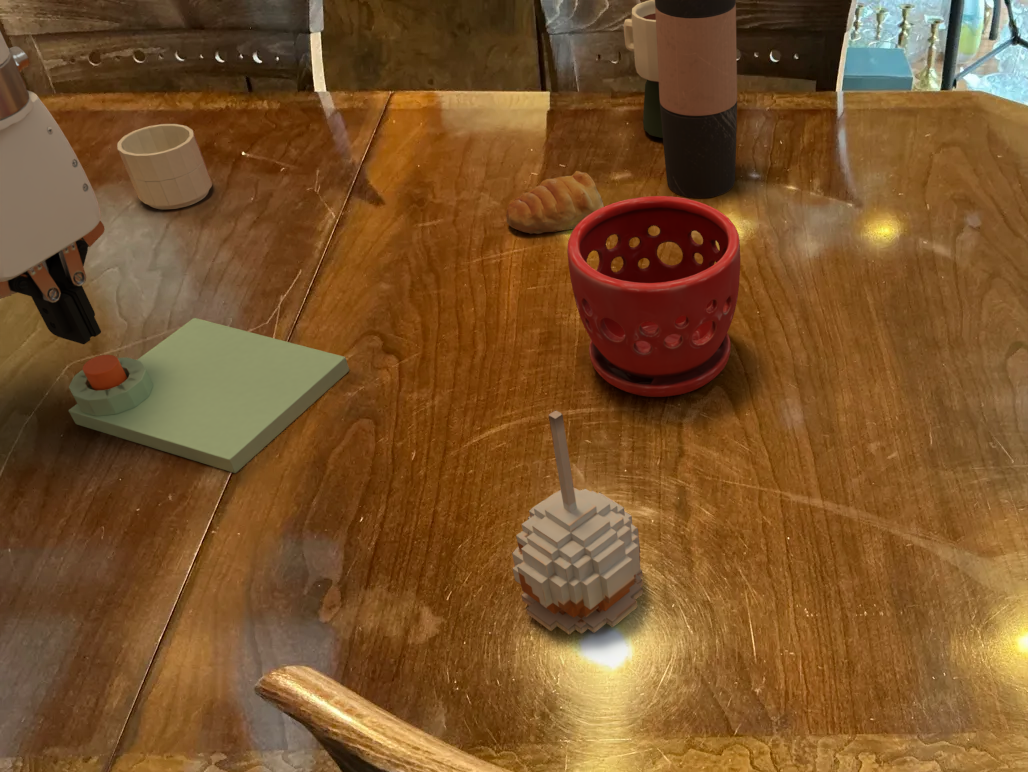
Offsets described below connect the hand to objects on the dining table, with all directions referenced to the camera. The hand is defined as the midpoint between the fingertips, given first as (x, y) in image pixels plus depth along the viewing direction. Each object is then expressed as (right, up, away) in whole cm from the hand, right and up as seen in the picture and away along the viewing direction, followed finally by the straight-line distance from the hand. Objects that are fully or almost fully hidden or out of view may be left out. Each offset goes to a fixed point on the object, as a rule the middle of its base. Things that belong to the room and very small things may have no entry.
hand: (78, 334), depth 82 cm
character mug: (+43, +30, +39) cm, 66 cm away
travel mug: (+47, +22, +31) cm, 60 cm away
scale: (+8, -4, +6) cm, 10 cm away
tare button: (+1, -3, +3) cm, 4 cm away
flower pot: (+44, -1, +8) cm, 45 cm away
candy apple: (+40, -19, -10) cm, 45 cm away
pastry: (+33, +16, +26) cm, 45 cm away
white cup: (-8, +20, +31) cm, 38 cm away
